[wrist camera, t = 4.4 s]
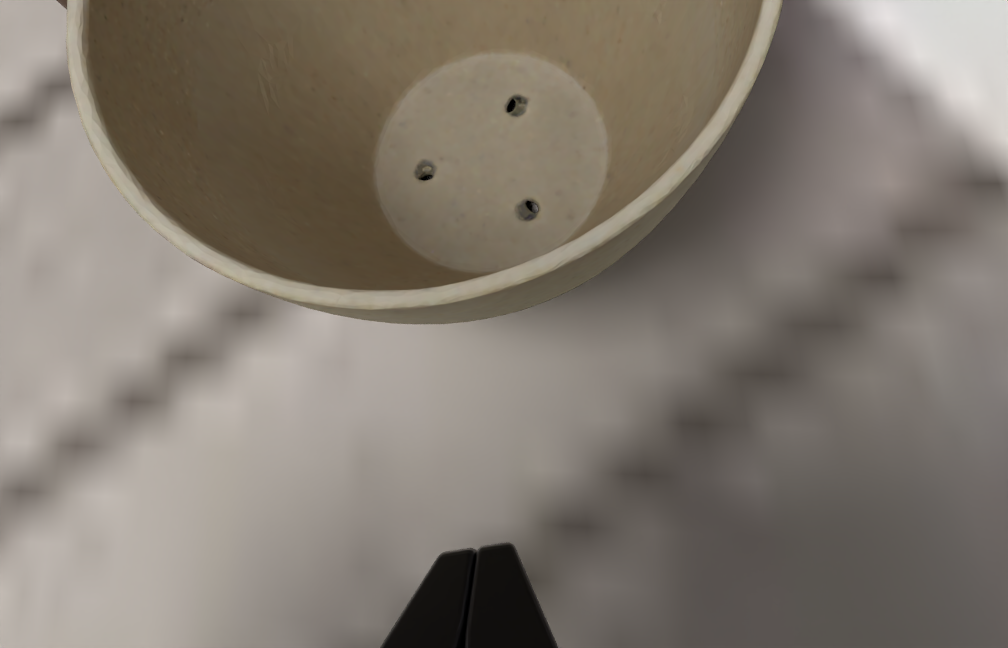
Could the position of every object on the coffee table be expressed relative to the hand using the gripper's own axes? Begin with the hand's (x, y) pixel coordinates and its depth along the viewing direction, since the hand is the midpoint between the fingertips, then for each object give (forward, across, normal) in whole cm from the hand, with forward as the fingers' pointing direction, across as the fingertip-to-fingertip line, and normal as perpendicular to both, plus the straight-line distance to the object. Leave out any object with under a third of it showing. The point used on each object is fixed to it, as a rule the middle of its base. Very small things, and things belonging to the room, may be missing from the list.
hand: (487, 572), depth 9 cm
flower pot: (+11, 0, -1) cm, 11 cm away
